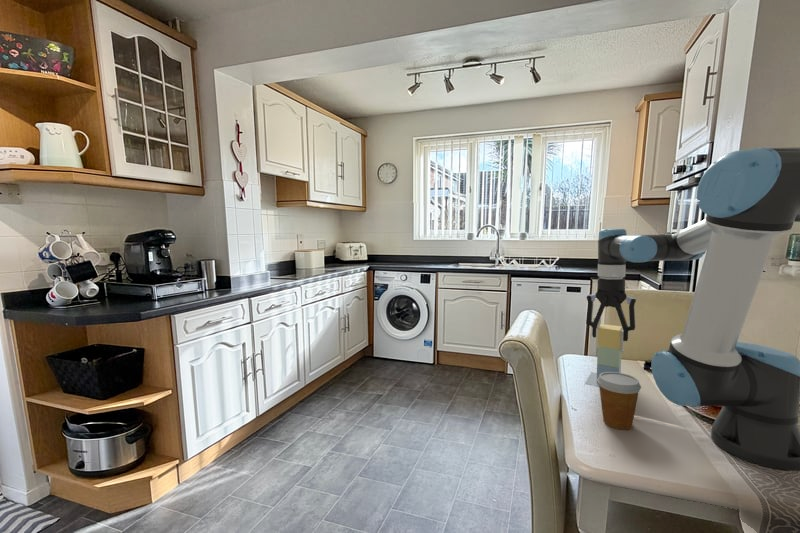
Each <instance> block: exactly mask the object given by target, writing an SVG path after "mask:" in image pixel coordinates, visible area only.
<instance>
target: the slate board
mask: <svg viewBox="0 0 800 533" xmlns="http://www.w3.org/2000/svg"><path fill="white" fill-rule="evenodd" d="M584 385H588V386H593V387H597V388H598V387H599V384H598V383H597V372H594V371H592V372H590V374H589V375H588V377H587V379H586V381H585V383H584Z"/></svg>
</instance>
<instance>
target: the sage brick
mask: <svg viewBox="0 0 800 533" xmlns="http://www.w3.org/2000/svg"><path fill="white" fill-rule="evenodd" d="M596 350H597V351H596V352H597V357H596V358H597V362H596V363H597V364H598V365H603V366H609V367H615V368H619V367H620V364H621V365H622V352H620V350H619V349H613V348H606V347H599V346H598V348H597V349H596ZM597 364H596V365H597Z"/></svg>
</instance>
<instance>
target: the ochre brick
mask: <svg viewBox="0 0 800 533" xmlns="http://www.w3.org/2000/svg"><path fill="white" fill-rule="evenodd" d="M597 327H598V346H599V347H606V348H613V349H619V350H620V331H621V329H622V330H623V328H622V325H621V326H620V325H613V324H604V323H600V325H599V326H597Z"/></svg>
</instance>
